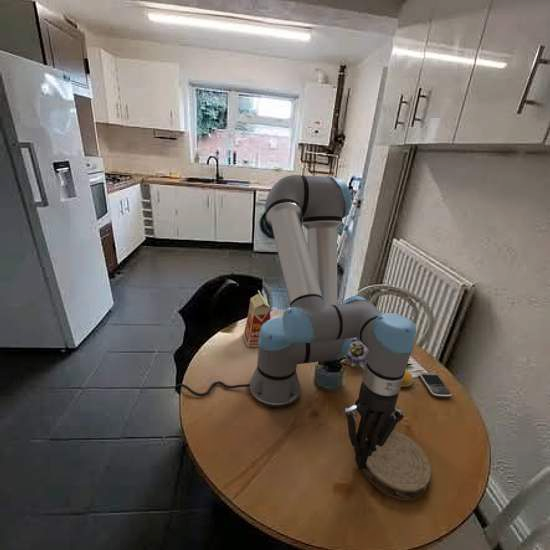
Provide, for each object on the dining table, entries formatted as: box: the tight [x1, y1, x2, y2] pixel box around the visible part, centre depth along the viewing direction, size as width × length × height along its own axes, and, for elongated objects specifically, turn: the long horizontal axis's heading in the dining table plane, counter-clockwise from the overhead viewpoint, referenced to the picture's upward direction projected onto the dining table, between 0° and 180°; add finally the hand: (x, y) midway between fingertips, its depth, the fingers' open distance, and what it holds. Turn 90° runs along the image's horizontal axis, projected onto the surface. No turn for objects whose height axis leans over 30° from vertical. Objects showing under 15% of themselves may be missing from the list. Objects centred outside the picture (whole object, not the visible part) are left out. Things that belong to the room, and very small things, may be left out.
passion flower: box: [345, 338, 369, 368], centre depth 110 cm, size 11×11×12 cm
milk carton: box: [242, 289, 272, 348], centre depth 115 cm, size 9×9×20 cm
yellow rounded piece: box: [401, 369, 414, 388], centre depth 104 cm, size 8×9×4 cm
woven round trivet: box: [361, 429, 432, 500], centre depth 74 cm, size 16×16×3 cm
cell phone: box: [418, 372, 452, 398], centre depth 102 cm, size 6×11×1 cm, turn 1°
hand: (359, 463), depth 73 cm, fingers closed
